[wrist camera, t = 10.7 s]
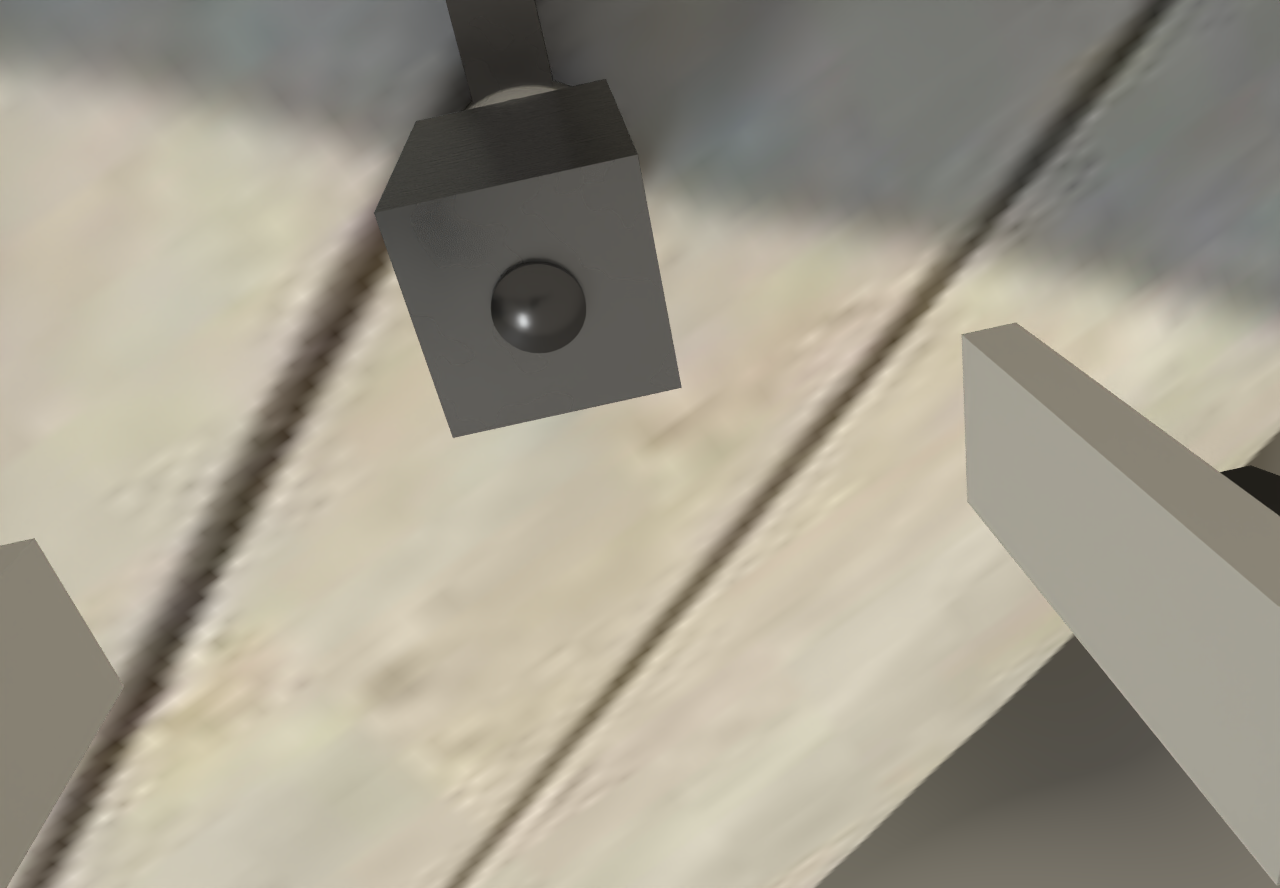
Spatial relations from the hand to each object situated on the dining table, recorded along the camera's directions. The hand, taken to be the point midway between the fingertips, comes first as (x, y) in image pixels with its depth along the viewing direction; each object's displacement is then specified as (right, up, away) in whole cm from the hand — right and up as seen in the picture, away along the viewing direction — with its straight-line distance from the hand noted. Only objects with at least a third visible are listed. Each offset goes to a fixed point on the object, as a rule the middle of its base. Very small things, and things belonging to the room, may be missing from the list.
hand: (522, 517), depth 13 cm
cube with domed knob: (-2, +10, +19) cm, 21 cm away
